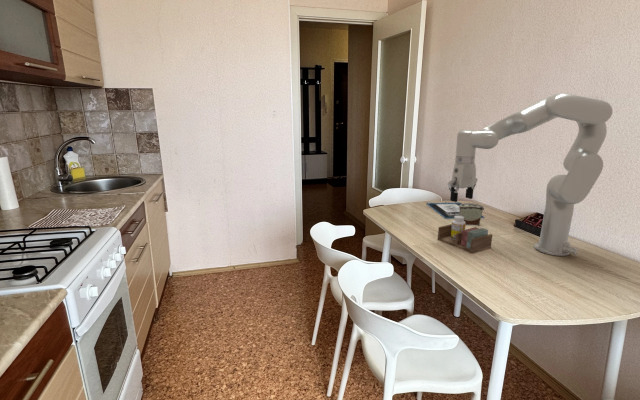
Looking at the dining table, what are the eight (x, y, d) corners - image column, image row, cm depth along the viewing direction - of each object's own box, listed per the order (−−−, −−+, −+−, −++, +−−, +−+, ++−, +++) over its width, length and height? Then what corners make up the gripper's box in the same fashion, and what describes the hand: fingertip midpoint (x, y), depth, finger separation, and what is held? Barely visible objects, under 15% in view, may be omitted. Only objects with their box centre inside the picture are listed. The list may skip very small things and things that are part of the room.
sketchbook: (445, 220, 187) (445, 216, 186) (425, 205, 216) (425, 202, 215) (484, 219, 188) (484, 215, 188) (459, 204, 217) (459, 201, 217)
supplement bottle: (459, 236, 158) (462, 214, 156) (466, 240, 153) (468, 218, 150) (448, 236, 158) (450, 215, 155) (454, 241, 152) (456, 218, 150)
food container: (478, 221, 182) (480, 203, 180) (482, 225, 176) (484, 206, 174) (453, 221, 184) (455, 202, 181) (457, 224, 178) (459, 205, 175)
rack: (490, 248, 148) (493, 230, 146) (472, 253, 142) (474, 235, 140) (455, 235, 163) (457, 218, 161) (437, 239, 157) (439, 222, 155)
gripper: (458, 163, 139) (454, 204, 143) (486, 159, 147) (482, 198, 152) (443, 160, 145) (440, 200, 150) (470, 157, 154) (467, 195, 158)
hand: (461, 199), depth 151 cm, fingers open, 9 cm apart
